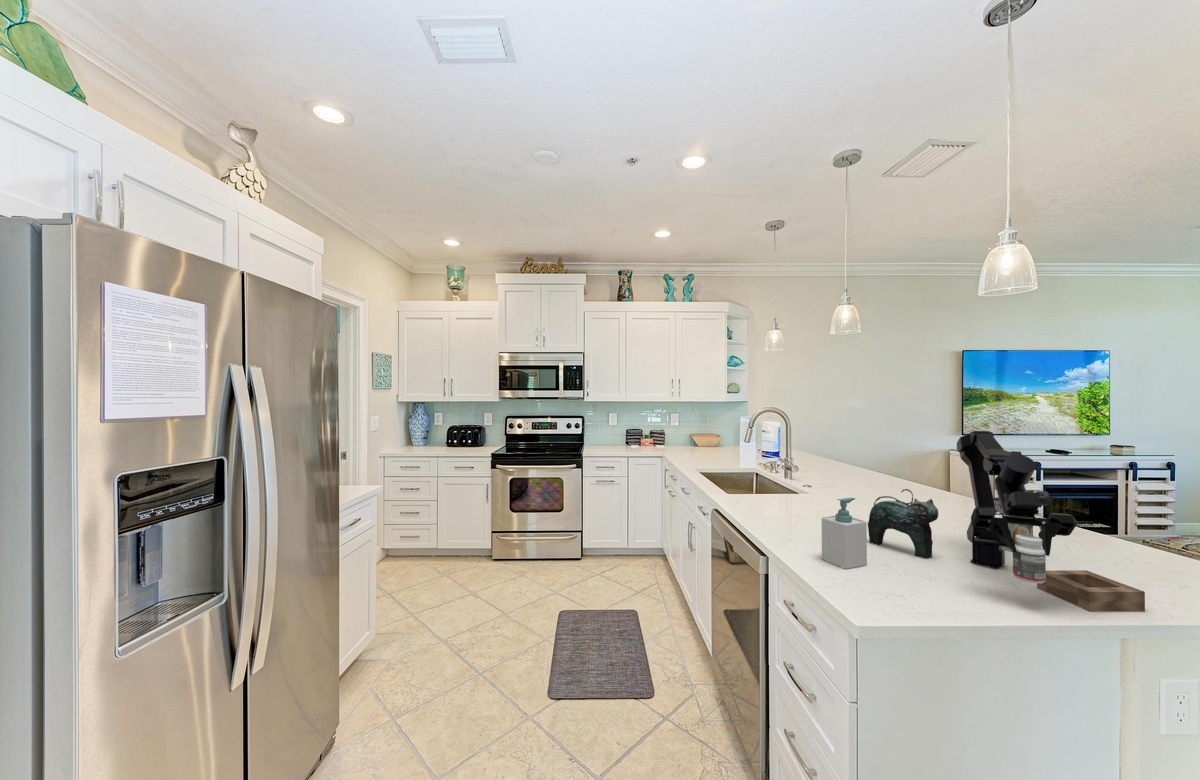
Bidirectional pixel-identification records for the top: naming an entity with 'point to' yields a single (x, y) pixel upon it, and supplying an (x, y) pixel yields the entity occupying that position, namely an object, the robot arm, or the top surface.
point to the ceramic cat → (904, 522)
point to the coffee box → (1014, 526)
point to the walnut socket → (1092, 591)
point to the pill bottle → (1029, 559)
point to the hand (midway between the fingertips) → (1031, 553)
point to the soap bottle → (844, 538)
